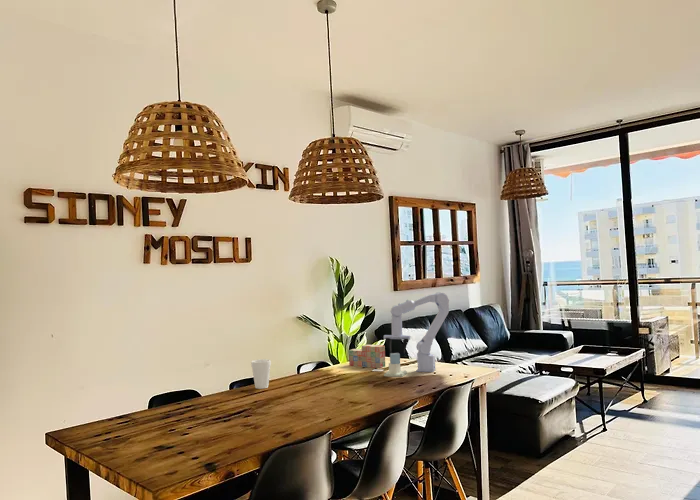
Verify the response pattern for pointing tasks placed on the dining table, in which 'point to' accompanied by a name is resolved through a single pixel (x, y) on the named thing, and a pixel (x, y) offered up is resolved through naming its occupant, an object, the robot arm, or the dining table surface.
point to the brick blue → (394, 358)
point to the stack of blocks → (368, 356)
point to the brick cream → (394, 368)
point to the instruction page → (377, 370)
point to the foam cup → (261, 372)
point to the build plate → (396, 374)
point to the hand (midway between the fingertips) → (397, 352)
